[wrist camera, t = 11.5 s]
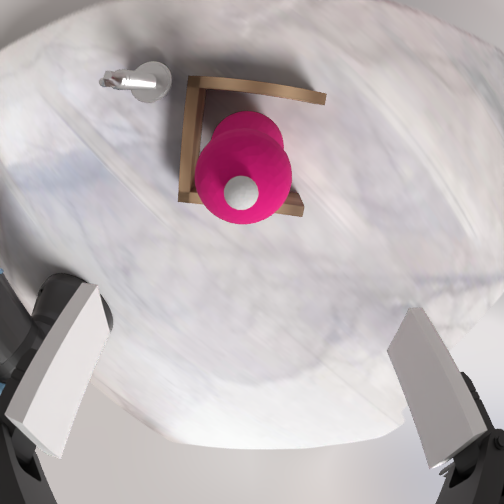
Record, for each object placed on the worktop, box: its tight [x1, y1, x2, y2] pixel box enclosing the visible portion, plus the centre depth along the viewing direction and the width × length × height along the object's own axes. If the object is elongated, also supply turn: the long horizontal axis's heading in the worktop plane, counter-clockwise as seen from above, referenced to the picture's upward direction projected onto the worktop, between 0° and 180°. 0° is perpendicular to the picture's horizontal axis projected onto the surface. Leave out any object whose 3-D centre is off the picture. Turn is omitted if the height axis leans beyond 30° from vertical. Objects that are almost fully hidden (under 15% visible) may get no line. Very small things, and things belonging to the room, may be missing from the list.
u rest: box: [178, 76, 327, 217], centre depth 30 cm, size 13×13×4 cm
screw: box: [99, 61, 172, 103], centre depth 22 cm, size 13×5×5 cm
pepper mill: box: [194, 111, 292, 224], centre depth 23 cm, size 7×7×20 cm
